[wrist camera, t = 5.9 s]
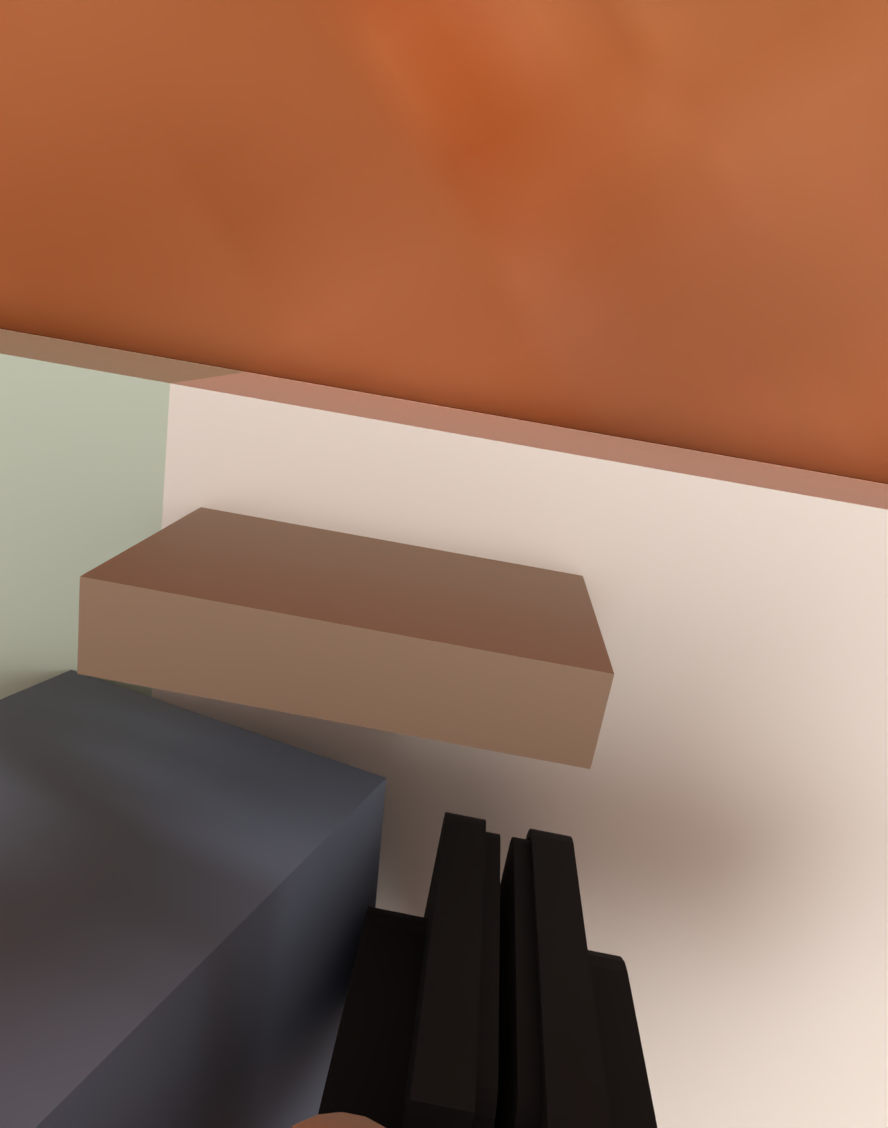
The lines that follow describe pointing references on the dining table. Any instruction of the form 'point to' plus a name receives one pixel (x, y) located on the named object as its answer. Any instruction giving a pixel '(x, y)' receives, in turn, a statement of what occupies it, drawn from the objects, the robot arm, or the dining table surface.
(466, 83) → the dining table surface
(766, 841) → the board
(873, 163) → the dining table surface
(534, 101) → the dining table surface
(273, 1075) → the block
